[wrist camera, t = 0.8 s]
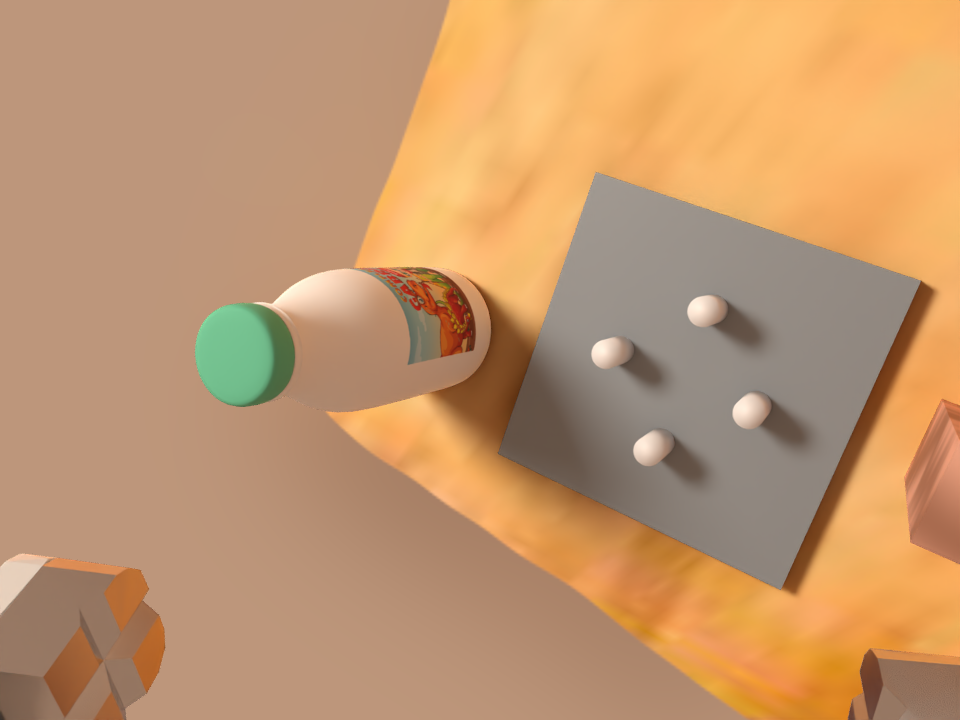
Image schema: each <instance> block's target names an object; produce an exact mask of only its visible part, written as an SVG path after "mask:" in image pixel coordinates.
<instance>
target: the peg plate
mask: <svg viewBox="0 0 960 720" xmlns="http://www.w3.org/2000/svg"><path fill="white" fill-rule="evenodd" d="M920 282H921V281H920V280H917V279H914V278H911V277H908V276H905V275H902V274H899V273H896V272H893V271H890V270H887V269H884V268H881V267H878V266H875V265H872V264H869V263H866V262H863V261H860V260H857V259H854V258H851V257H848V256H845V255H842V254H839V253H836V252H833V251H830V250H827V249H824V248H821V247H818V246H815V245H812V244H809V243H806V242H803V241H801V240H798V239H795V238H792V237H789V236H786V235H783V234H780V233H777V232H774V231H771V230H768V229H765V228H762V227H759V226H756V225H753V224H750V223H747V222H744V221H741V220H738V219H735V218H732V217H729V216H726V215H723V214H720V213H717V212H714V211H711V210H708V209H705V208H702V207H699V206H696V205H693V204H690V203H687V202H684V201H681V200H678V199H675V198H672V197H669V196H666V195H663V194H660V193H657V192H654V191H651V190H648V189H645V188H642V187H639V186H636V185H633V184H630V183H627V182H624V181H621V180H618V179H615V178H612V177H609V176H606V175H603V174H600V173H597V172H596V173H595V176H594V179H593V182H592V185H591V188H590V190H589V193H588V196H587V199H586V202H585V205H584V208H583V211H582V213H581V216H580V219H579V222H578V225H577V228H576V231H575V234H574V236H573V239H572V242H571V245H570V248H569V251H568V254H567V257H566V259H565V262H564V265H563V268H562V271H561V274H560V277H559V279H558V282H557V285H556V288H555V291H554V294H553V297H552V300H551V302H550V305H549V308H548V311H547V314H546V317H545V320H544V323H543V325H542V328H541V331H540V334H539V337H538V340H537V343H536V346H535V348H534V351H533V354H532V357H531V360H530V363H529V366H528V369H527V371H526V374H525V377H524V380H523V383H522V386H521V389H520V391H519V394H518V397H517V400H516V403H515V406H514V409H513V412H512V414H511V417H510V420H509V423H508V426H507V429H506V432H505V435H504V437H503V440H502V443H501V446H500V449H499V452H498V454H499V455H502V456H504V457H506V458H508V459H510V460H512V461H514V462H516V463H518V464H520V465H522V466H524V467H526V468H529V469H531V470H533V471H535V472H537V473H539V474H541V475H543V476H545V477H547V478H549V479H551V480H553V481H555V482H558V483H560V484H562V485H564V486H566V487H568V488H570V489H572V490H574V491H576V492H578V493H580V494H582V495H585V496H587V497H589V498H591V499H593V500H595V501H597V502H599V503H601V504H603V505H605V506H607V507H609V508H612V509H614V510H616V511H618V512H620V513H622V514H624V515H626V516H628V517H630V518H632V519H634V520H636V521H639V522H641V523H643V524H645V525H647V526H649V527H651V528H653V529H655V530H657V531H659V532H661V533H663V534H666V535H668V536H670V537H672V538H674V539H676V540H678V541H680V542H682V543H684V544H686V545H688V546H690V547H693V548H695V549H697V550H699V551H701V552H703V553H705V554H707V555H709V556H711V557H713V558H715V559H717V560H720V561H722V562H724V563H726V564H728V565H730V566H732V567H734V568H736V569H738V570H740V571H742V572H744V573H746V574H749V575H751V576H753V577H755V578H757V579H759V580H761V581H763V582H765V583H767V584H769V585H771V586H773V587H776V588H778V589H780V590H781V588H782V586H783V584H784V582H785V580H786V577H787V575H788V573H789V571H790V569H791V566H792V564H793V562H794V560H795V558H796V555H797V553H798V551H799V549H800V546H801V544H802V542H803V540H804V538H805V535H806V533H807V531H808V529H809V527H810V524H811V522H812V520H813V518H814V516H815V513H816V511H817V509H818V507H819V505H820V502H821V500H822V498H823V496H824V494H825V491H826V489H827V487H828V485H829V483H830V480H831V478H832V476H833V474H834V472H835V469H836V467H837V465H838V463H839V461H840V458H841V456H842V454H843V452H844V450H845V447H846V445H847V443H848V441H849V439H850V436H851V434H852V432H853V430H854V428H855V425H856V423H857V421H858V419H859V417H860V414H861V412H862V410H863V408H864V406H865V403H866V401H867V399H868V397H869V395H870V392H871V390H872V388H873V386H874V383H875V381H876V379H877V377H878V375H879V372H880V370H881V368H882V366H883V364H884V361H885V359H886V357H887V355H888V353H889V350H890V348H891V346H892V344H893V342H894V339H895V337H896V335H897V333H898V331H899V328H900V326H901V324H902V322H903V320H904V317H905V315H906V313H907V311H908V309H909V306H910V304H911V302H912V300H913V298H914V295H915V293H916V291H917V289H918V287H919V284H920Z"/></svg>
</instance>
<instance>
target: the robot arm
mask: <svg viewBox="0 0 960 720" xmlns="http://www.w3.org/2000/svg"><path fill="white" fill-rule="evenodd" d="M148 590H149V588H148V586H147V583H146V581H145V579H144V577H143V575H142V573H141V570H138V569H132V568H126V567H119V566H112V565H105V564H98V563H90V562H84V561H77V560H70V559H62V558H54V557H46V556H38V555H30V554H22V553H21V554H19V555H17V556H15V557H13V558H11V559H9V560H7V561H5V563H4V564H3V565H2V566H1V567H0V720H126V712H125V708H126V707H128V706H129V705H131V704H132V703H134V702H135V701H137V700H138V699H140V698H141V697H142V696H144V695H145V694H147V692H148V690H149V688H150V687H151V685H152V683H153V681H154V680H155V678H156V676H157V674H158V673H159V669H160V665H161V662H162V658H163V654H164V650H165V635H164V627H163V624H162V622H161V619H160V616H159V614H157V613H156V612H155V611H154V610H153V609H152V608H151V607H149V606H148V605H147V604H146V603H145V602H144V601H143V599H144V597H145V595H146V594H147V592H148ZM860 676H861V681H862V687H863V693H862V694H860V695H858V696H857V697H855V698H853V699H852V702H851V707H850V711H849V716H848V720H960V657H954V656H944V655H934V654H924V653H913V652H903V651H893V650H883V649H873V648H870V649H869V650H868V651H867V653H866V654H865V655H864V658H863V662H862V665H861V669H860Z"/></svg>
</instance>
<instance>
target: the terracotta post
mask: <svg viewBox="0 0 960 720" xmlns="http://www.w3.org/2000/svg"><path fill="white" fill-rule="evenodd" d="M905 488H906V498H907V509H908V520H909V531H910V542H911V543H913V544H915V545H917V546H919V547H922V548H924V549H926V550H929V551H931V552H933V553H935V554H938V555H940V556H942V557H945V558H947V559H949V560H951V561H954V562H956V563H958V564H960V406H959V405H956V404H954V403H951V402H948V401H946V400H943V399H942V400H941V402H940V404H939V406H938V408H937V410H936V412H935V414H934V416H933V419H932V421H931V423H930V425H929V427H928V429H927V431H926V433H925V435H924V437H923V440H922V442H921V444H920V446H919V448H918V450H917V452H916V454H915V456H914V458H913V461H912V463H911V465H910V467H909V469H908V471H907V473H906V475H905Z"/></svg>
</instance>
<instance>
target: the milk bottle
mask: <svg viewBox="0 0 960 720" xmlns="http://www.w3.org/2000/svg"><path fill="white" fill-rule="evenodd" d="M490 338H491V320H490V316H489V311H488V308H487V306H486V303H485V301H484V299H483V297H482V296H481V294H480V292H479V291H478V290H477V288H476V287H475V286H474V285H473V284H472V283H471V282H470V281H469V280H468V279H466V278H465V277H464V276H462V275H460V274H458V273H456V272H454V271H451V270H448V269H443V268H432V267H397V268H352V269H340V270H331V271H327V272H323V273H318V274H315V275H312V276H310V277H308V278H306V279H303V280H301V281H300V282H298V283H296V284H295V285H293V286H292V287H290V288H289V289H288V290H286V291H285V292H284V293H283V294H282V295H281V296H280V297H279V298H278V299H277V300H276V301H275V302H274V303H273V304H269V303H263V302H256V303H237V304H230V305H226V306H223V307H221V308H219V309H217V310H215V311H214V312H213V313H211V314H210V315H209V316H208V317H207V318H206V320H205V321H204V323H203V324H202V326H201V328H200V330H199V333H198V336H197V340H196V347H195V357H196V364H197V368H198V372H199V375H200V377H201V379H202V381H203V383H204V385H205V386H206V388H207V389H208V390H209V391H210V393H211V394H212V395H213V396H215V397H216V398H217V399H218V400H220V401H222V402H224V403H226V404H229V405H233V406H239V407H246V406H252V405H258V404H261V403H265V402H270V401H275V400H278V399H280V398H282V397H283V396H288V397H289V398H291V399H293V400H295V401H297V402H299V403H301V404H303V405H305V406H308V407H311V408H314V409H318V410H322V411H329V412H352V411H359V410H364V409H369V408H374V407H378V406H382V405H386V404H390V403H393V402H397V401H401V400H405V399H409V398H412V397H416V396H419V395H423V394H427V393H430V392H434V391H437V390H441V389H444V388H448V387H451V386H453V385H456V384H459V383H461V382H463V381H464V380H466V379H467V378H469V377H470V376H471V375H472V374H473V373H474V372H475V371H476V370H477V369H478V368H479V366H480V365H481V363H482V362H483V360H484V358H485V356H486V353H487V351H488V347H489V344H490Z"/></svg>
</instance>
